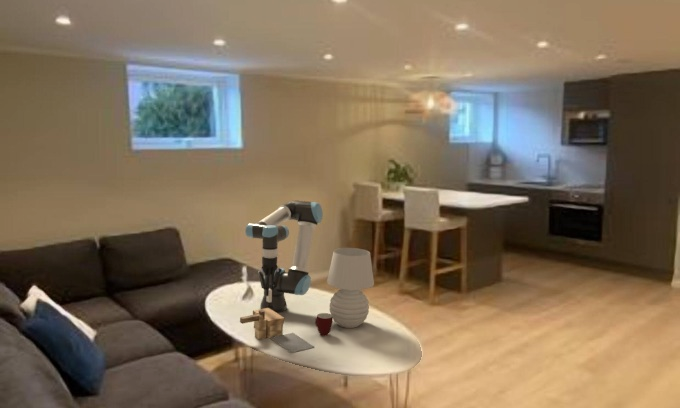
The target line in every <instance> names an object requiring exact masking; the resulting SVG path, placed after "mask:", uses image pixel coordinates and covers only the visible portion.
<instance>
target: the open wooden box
mask: <svg viewBox="0 0 680 408" xmlns="http://www.w3.org/2000/svg"><path fill="white" fill-rule="evenodd" d="M255 314H259V313H255ZM253 328H254V338H256V339H257V340H262V339H266V338H268V339H269V338H271V337H276V336H280V335H284V334H283V333H284V329H283V328H284V324H280V325H275V326H270V327H268V326H266V319H264V320H263V316H259V320H258V321H253Z"/></svg>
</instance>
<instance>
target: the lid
mask: <svg viewBox="0 0 680 408" xmlns="http://www.w3.org/2000/svg"><path fill="white" fill-rule="evenodd" d="M260 310H263V311H265V319H266V326H268V327H270V326H275V325H280V324H283V325H284V324H285V317H284V316H282V315H280V314H279V312H274V311H273V310H271V309H270V308H265V309H260V308H259V309H255V310H253V311H252V315H255V313H259V311H260Z"/></svg>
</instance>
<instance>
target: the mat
mask: <svg viewBox="0 0 680 408" xmlns="http://www.w3.org/2000/svg"><path fill="white" fill-rule="evenodd" d="M270 339H271V340H272V341H273V342H275V343H276V344H277V345H278V346H280V347H282V348H283V349H285V350H286V351H287V352H288V353H290V354H294V353H297V352H301V351H305V350H309V349H313V348H315V345H313V344H312V343H310V342H308V341H306V340H305V339H304V338H302V337H300V335H298V334H297V333H294V332H291V333H286V334H283V335H279V336H275V337H270Z"/></svg>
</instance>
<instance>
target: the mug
mask: <svg viewBox="0 0 680 408" xmlns="http://www.w3.org/2000/svg"><path fill="white" fill-rule="evenodd" d="M314 321H315V322H314V323H315V326H316V327H317V332H318V333H319V335H320V336H321V337H326V336H327V337H328V335H329V334H330V332H331V329H332V325H333V321H334V320H333V316H332V315H331V313H326V312H321V313H317V315H316V319H315V320H314Z"/></svg>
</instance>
